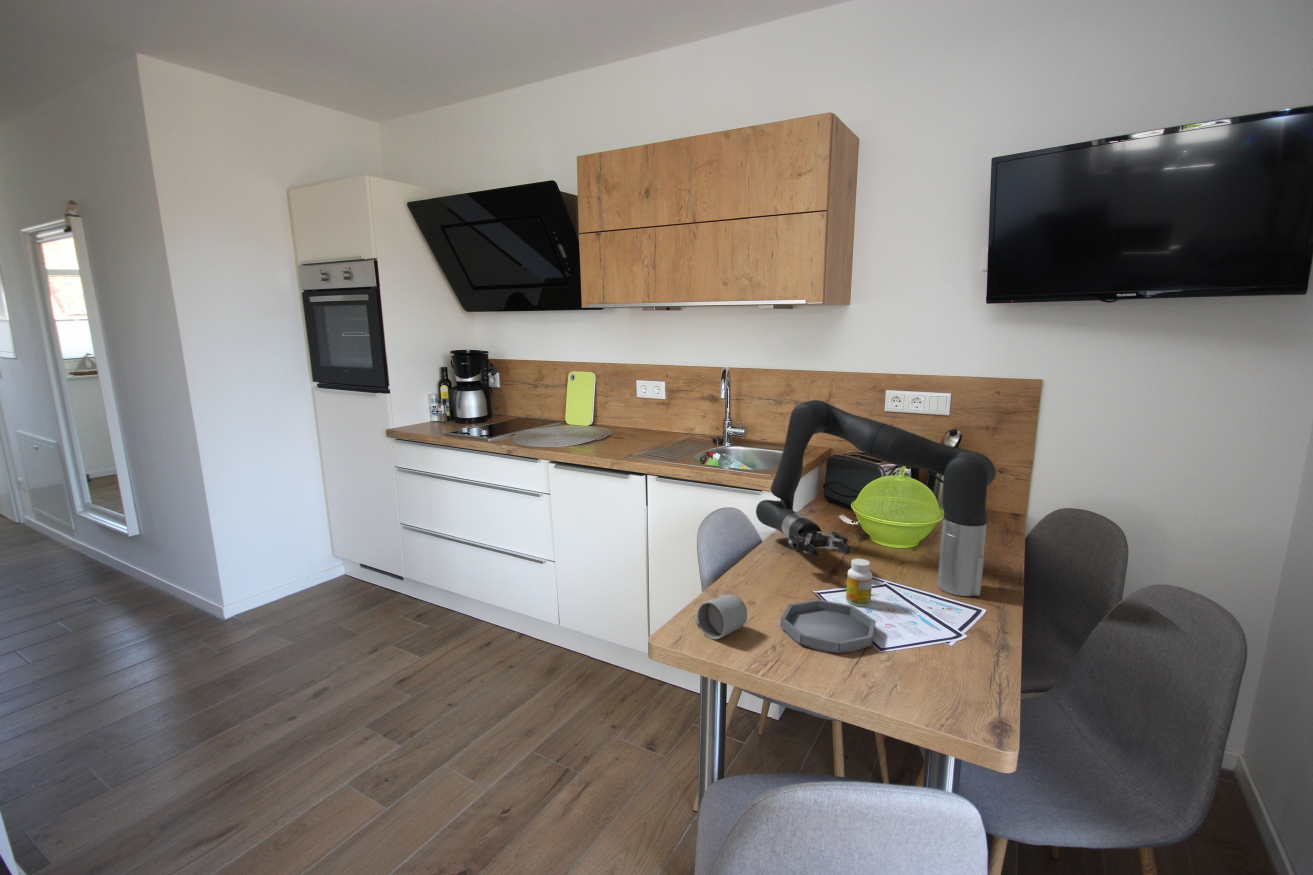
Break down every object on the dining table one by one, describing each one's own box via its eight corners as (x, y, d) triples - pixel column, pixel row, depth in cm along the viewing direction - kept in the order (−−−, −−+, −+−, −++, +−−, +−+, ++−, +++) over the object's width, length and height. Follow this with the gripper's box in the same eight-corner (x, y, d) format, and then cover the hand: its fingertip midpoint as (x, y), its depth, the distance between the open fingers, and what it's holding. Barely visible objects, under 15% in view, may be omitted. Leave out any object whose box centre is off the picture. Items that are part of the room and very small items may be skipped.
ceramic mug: (749, 631, 125) (750, 596, 124) (724, 645, 120) (724, 608, 118) (710, 615, 133) (711, 581, 131) (685, 627, 127) (685, 592, 126)
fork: (895, 538, 185) (896, 532, 184) (837, 521, 199) (837, 515, 199) (900, 535, 187) (901, 529, 186) (842, 519, 201) (843, 513, 201)
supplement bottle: (842, 597, 142) (844, 557, 140) (864, 596, 142) (867, 557, 140) (851, 607, 136) (854, 566, 135) (874, 606, 137) (877, 565, 135)
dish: (877, 620, 130) (878, 610, 130) (868, 661, 114) (868, 649, 114) (793, 604, 137) (794, 594, 137) (773, 640, 121) (774, 629, 121)
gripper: (777, 519, 162) (807, 539, 146) (825, 515, 165) (859, 535, 150) (776, 545, 163) (805, 569, 148) (823, 541, 167) (857, 564, 151)
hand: (832, 552), depth 149 cm, fingers open, 8 cm apart
